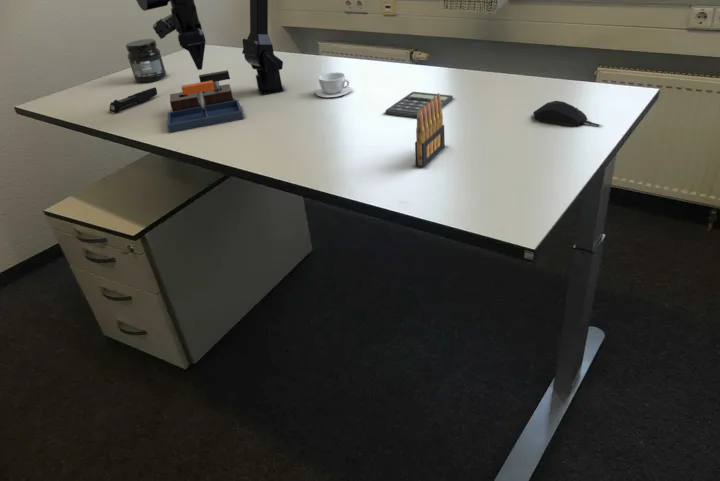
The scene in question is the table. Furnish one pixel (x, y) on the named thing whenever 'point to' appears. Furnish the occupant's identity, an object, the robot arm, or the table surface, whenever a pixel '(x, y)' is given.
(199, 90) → the t handle
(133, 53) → the supplement container
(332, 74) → the teacup
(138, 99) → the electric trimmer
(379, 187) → the table surface
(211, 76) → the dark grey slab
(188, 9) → the robot arm
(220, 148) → the table surface
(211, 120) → the tray
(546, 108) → the gaming mouse
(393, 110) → the calculator
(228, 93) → the rack
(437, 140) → the ammunition clip
